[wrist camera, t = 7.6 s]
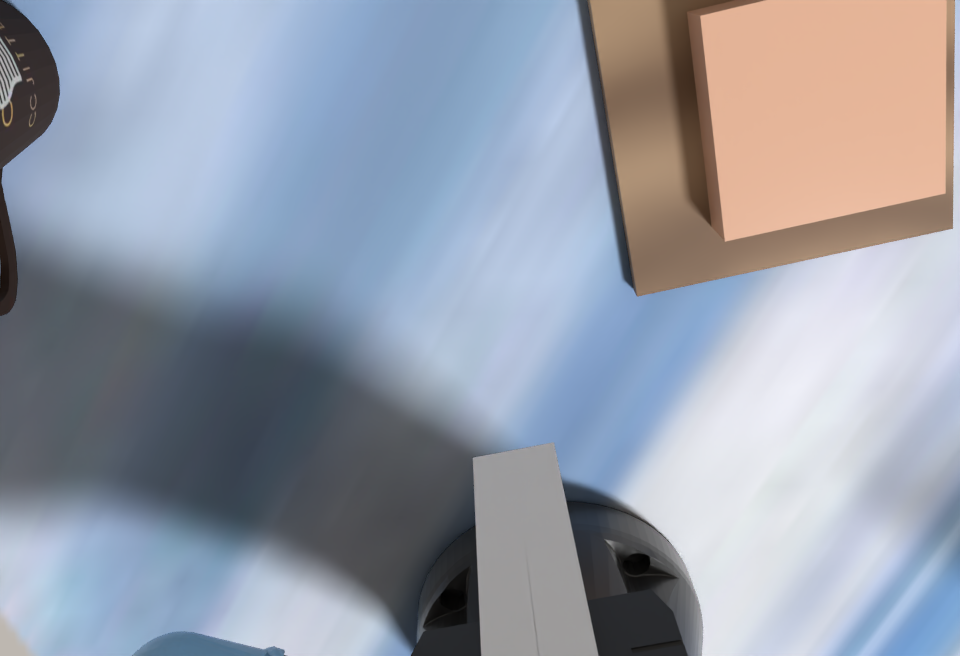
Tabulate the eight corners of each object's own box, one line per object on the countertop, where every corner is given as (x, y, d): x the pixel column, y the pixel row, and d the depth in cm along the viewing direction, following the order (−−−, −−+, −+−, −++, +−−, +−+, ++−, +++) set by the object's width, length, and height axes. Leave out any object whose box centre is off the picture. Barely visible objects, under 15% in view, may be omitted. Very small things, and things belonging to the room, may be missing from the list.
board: (943, 223, 38) (952, 228, 37) (633, 290, 39) (637, 296, 38) (945, -183, 31) (956, -185, 31) (572, -91, 32) (575, -91, 32)
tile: (711, 226, 37) (921, 180, 36) (725, 241, 35) (945, 193, 34) (686, 11, 33) (919, -44, 33) (700, 16, 31) (946, -43, 31)
